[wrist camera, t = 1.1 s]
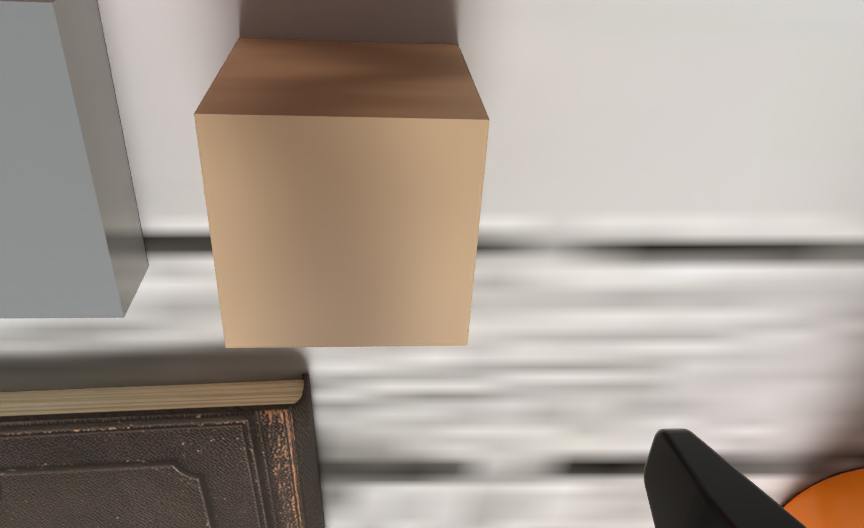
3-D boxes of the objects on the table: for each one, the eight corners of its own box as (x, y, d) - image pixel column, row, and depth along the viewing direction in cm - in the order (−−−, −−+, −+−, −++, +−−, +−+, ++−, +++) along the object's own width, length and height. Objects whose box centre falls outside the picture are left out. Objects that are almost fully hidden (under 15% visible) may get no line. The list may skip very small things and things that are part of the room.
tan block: (457, 43, 18) (489, 119, 13) (445, 229, 21) (467, 345, 16) (239, 36, 17) (194, 113, 13) (257, 228, 20) (226, 348, 16)
